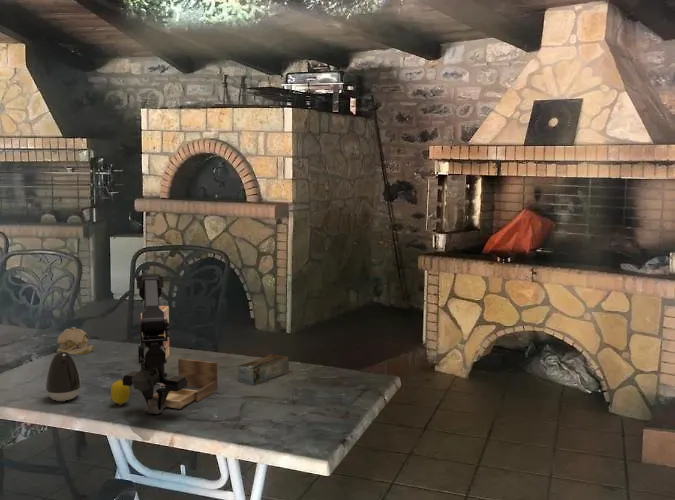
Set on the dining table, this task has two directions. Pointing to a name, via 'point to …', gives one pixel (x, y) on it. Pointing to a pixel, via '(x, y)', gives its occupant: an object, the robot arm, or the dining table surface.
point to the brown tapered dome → (63, 377)
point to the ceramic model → (74, 341)
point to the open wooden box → (199, 376)
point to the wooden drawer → (172, 400)
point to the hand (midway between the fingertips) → (155, 409)
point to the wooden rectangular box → (263, 369)
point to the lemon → (119, 392)
